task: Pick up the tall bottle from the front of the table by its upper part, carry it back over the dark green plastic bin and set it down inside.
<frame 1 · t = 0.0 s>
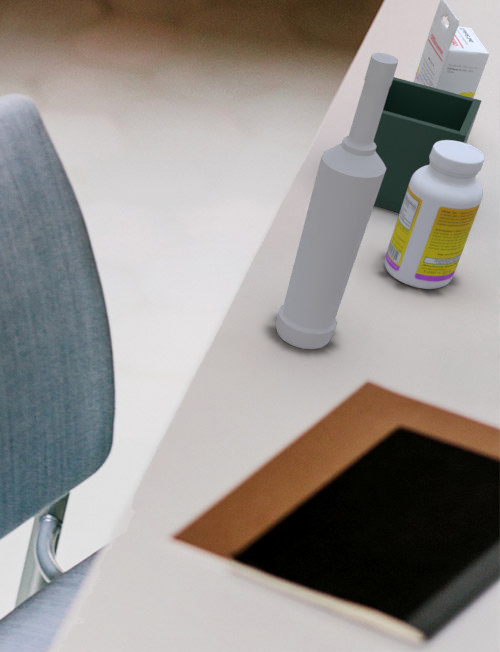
supplement bottle: (415, 275, 116), on the table
ink box: (427, 135, 142), on the table
bottle: (302, 335, 105), on the table
bin: (395, 189, 129), on the table
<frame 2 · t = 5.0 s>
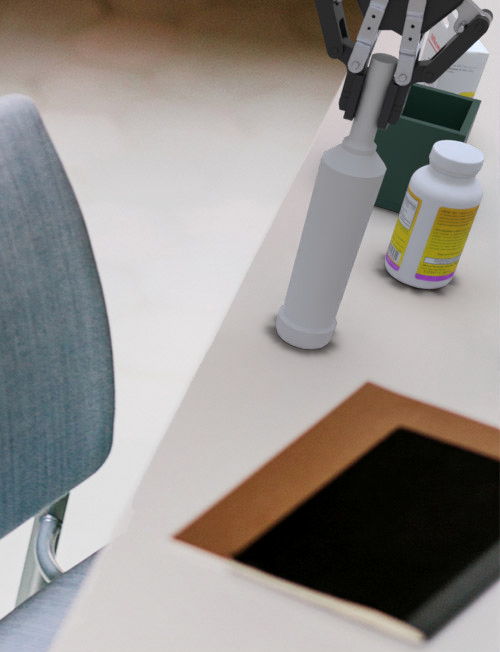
hand: (366, 120, 92), 20 cm above the table, tool pointing down, fingers closed on bottle, 2 cm apart
bottle: (302, 335, 105), on the table, touching gripper
everything else where it was.
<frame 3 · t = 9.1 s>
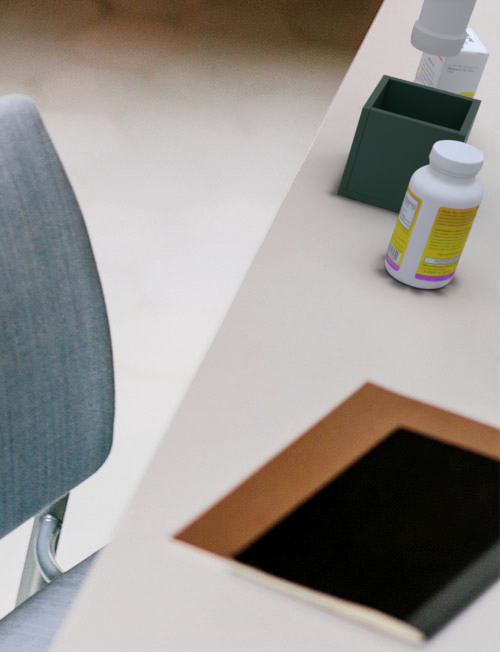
bottle: (434, 49, 116), point 17 cm above the table, touching gripper
everything else where it was.
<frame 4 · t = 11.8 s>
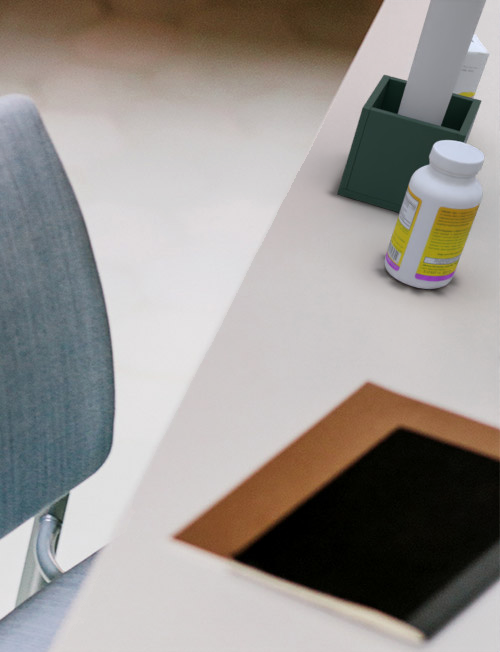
bottle: (410, 145, 126), point 5 cm above the table, touching gripper
everything else where it was.
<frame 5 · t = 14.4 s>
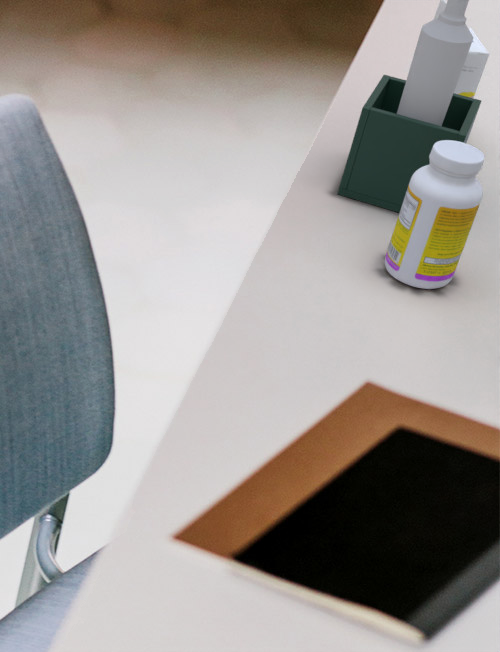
bottle: (397, 184, 129), point 1 cm above the table, touching bin
everything else where it was.
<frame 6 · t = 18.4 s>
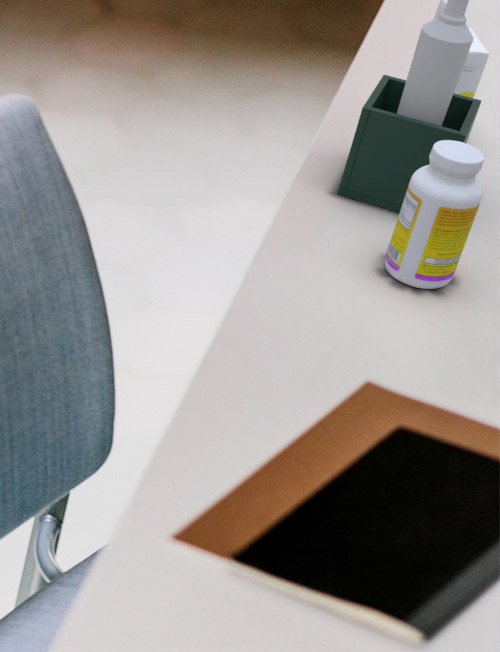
nothing on the table moved.
at the end: bottle inside the target area in the bin (0.2 cm from its centre), point 0.6 cm above the bin's base; the gripper is holding nothing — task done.
